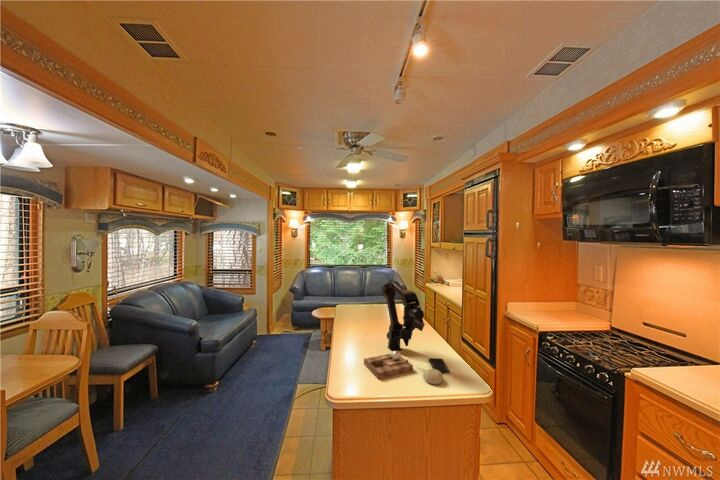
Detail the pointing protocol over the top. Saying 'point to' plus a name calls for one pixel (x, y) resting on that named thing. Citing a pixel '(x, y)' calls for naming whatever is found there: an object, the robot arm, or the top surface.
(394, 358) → the steel ball
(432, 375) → the sea urchin shell
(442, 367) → the phone
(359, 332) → the top surface
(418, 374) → the top surface
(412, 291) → the robot arm
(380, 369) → the hole deck
